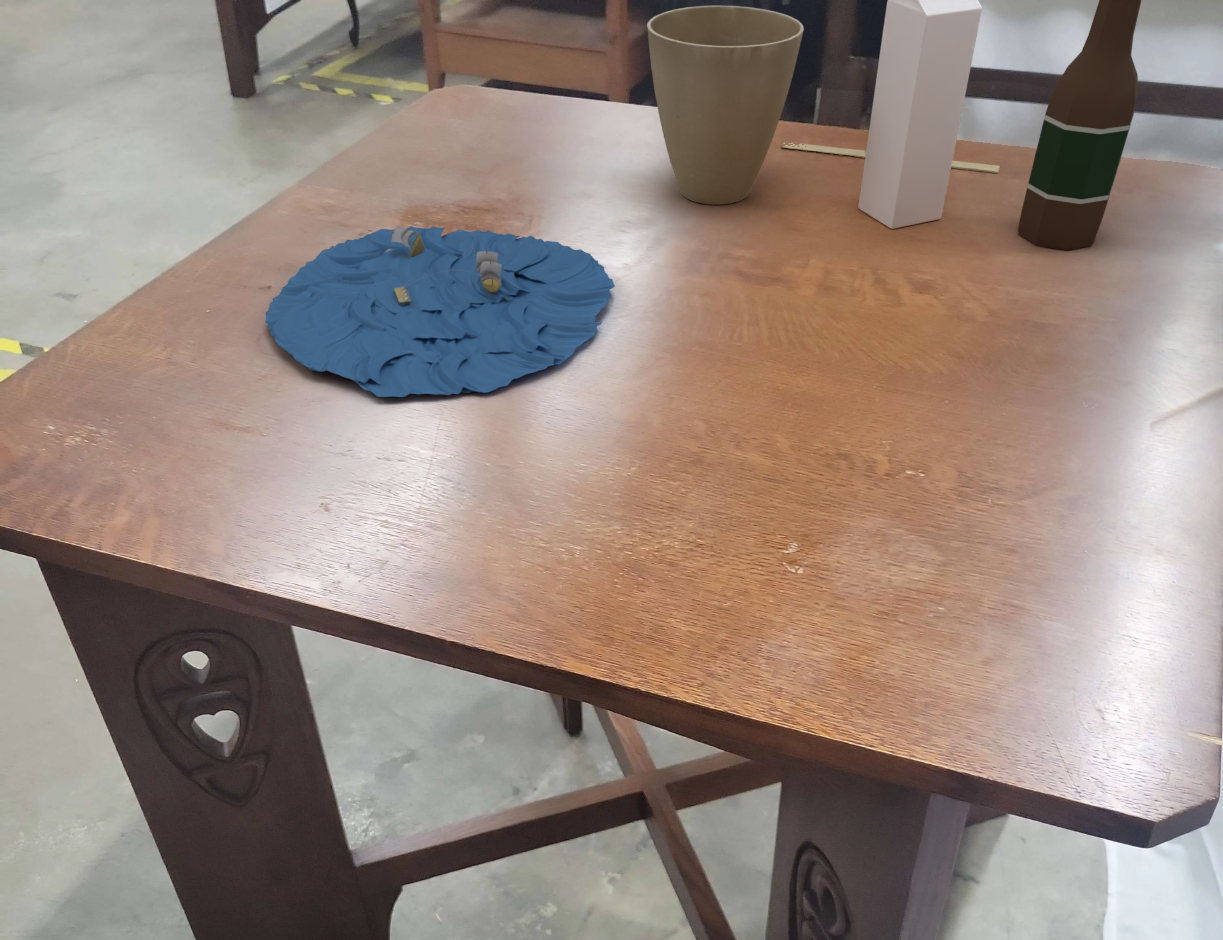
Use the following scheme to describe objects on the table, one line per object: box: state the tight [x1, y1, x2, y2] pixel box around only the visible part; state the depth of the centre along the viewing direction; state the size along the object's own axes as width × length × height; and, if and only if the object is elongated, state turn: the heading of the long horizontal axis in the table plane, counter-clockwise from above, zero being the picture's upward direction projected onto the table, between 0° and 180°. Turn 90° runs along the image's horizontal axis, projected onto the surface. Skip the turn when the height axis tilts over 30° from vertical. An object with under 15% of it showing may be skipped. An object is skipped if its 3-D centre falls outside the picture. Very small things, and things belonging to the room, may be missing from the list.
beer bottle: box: [1017, 0, 1142, 251], centre depth 95 cm, size 8×8×24 cm
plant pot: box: [646, 5, 805, 206], centre depth 107 cm, size 15×15×16 cm
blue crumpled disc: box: [264, 225, 616, 398], centre depth 91 cm, size 30×30×5 cm
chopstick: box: [783, 142, 1001, 174], centre depth 119 cm, size 24×2×1 cm, turn 69°
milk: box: [857, 0, 983, 230], centre depth 100 cm, size 6×6×22 cm
